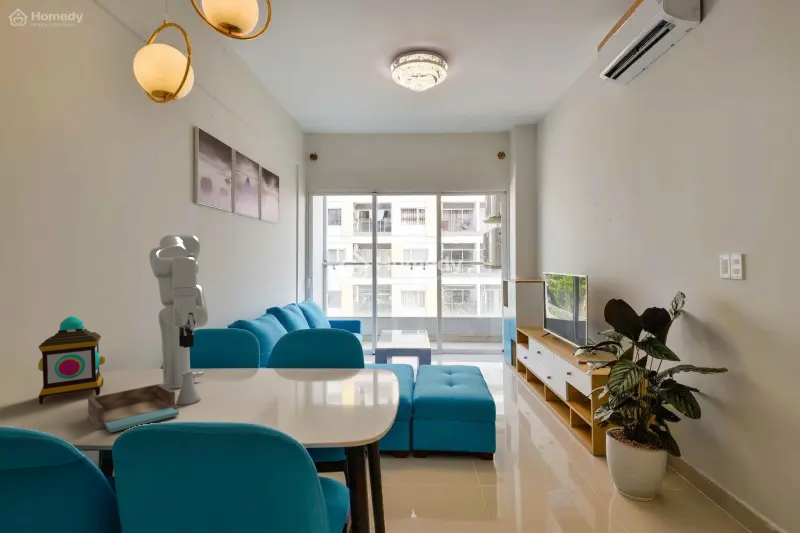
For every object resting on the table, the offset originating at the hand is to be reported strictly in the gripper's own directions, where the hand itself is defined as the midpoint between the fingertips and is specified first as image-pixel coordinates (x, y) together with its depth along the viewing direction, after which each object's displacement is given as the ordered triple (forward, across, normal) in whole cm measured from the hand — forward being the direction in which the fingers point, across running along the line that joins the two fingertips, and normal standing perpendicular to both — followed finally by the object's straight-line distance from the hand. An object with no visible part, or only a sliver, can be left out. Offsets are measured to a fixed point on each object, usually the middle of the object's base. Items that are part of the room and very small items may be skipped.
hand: (186, 346), depth 139 cm
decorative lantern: (+19, -48, -25) cm, 57 cm away
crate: (+19, -2, -16) cm, 25 cm away
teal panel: (+18, +6, -16) cm, 25 cm away
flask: (+19, 0, 0) cm, 19 cm away
